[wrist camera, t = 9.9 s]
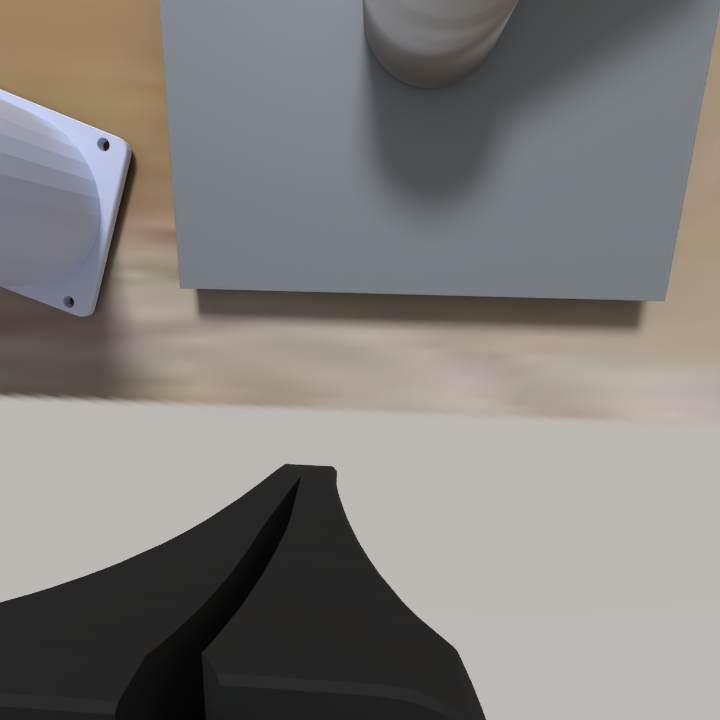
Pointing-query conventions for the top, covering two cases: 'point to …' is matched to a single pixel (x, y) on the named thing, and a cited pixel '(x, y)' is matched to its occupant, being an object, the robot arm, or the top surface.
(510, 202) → the latch plate
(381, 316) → the top surface
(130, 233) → the top surface
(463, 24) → the grey beige handled piece
